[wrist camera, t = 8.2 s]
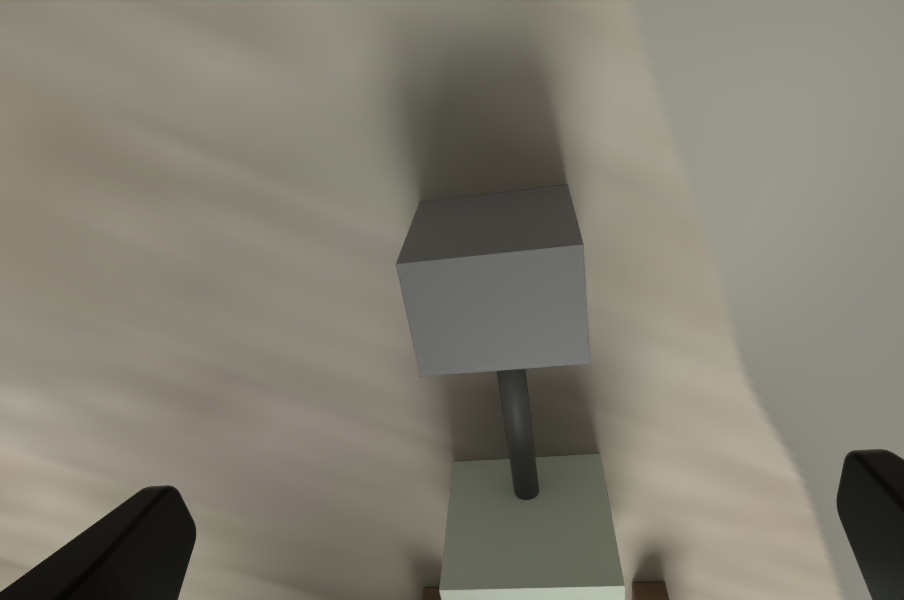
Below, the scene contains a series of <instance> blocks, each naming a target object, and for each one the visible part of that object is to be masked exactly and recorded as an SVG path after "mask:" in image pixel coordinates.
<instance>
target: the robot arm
mask: <svg viewBox="0 0 904 600" xmlns="http://www.w3.org/2000/svg"><path fill="white" fill-rule="evenodd" d="M837 510H838V514H839V517H840V520H841V523H842V525H843V527H844V530H845V533H846V535H847V537H848V540H849V543H850V545H851V547H852V550H853V552H854V555H855V558H856V560H857V563H858V565H859V568H860V570H861V572H862V575H863V578H864V580H865V582H866V585H867V588H868V590H869V592H870V595H871V597H872V600H904V459H902V458H901V457H899V456H897V455H895V454H894V453H892V452H890V451H888V450H883V449H873V450H854V451H851V452H849V453H848V454H847V455H846V457H845V460H844V464H843V469H842V475H841V478H840V484H839V488H838V493H837ZM195 540H196V526H195V523H194V520H193V518H192V516H191V514H190V512H189V510H188V508H187V506H186V504H185V502H184V500H183V498H182V496H181V494H180V493H179V491H178V490H177V489H176V488H175V487H173V486H151V487H146V488H144V489H142V490H140V491H139V492H137V493H136V494H135V495H133V496H132V497H131V498H129V499H128V500H126V501H125V502H124V503H122V504H121V505H120V506H118V507H117V508H115V509H114V510H113V511H111V512H110V513H109V514H107V515H106V516H104V517H103V518H102V519H100V520H99V521H97V522H96V523H95V524H93V525H92V526H91V527H89V528H88V529H86V530H85V531H84V532H82V533H81V534H80V535H78V536H77V537H75V538H74V539H73V540H71V541H70V542H69V543H67V544H66V545H64V546H63V547H62V548H60V549H59V550H58V551H56V552H55V553H53V554H52V555H51V556H49V557H48V558H47V559H45V560H44V561H42V562H41V563H40V564H38V565H37V566H36V567H34V568H33V569H31V570H30V571H29V572H27V573H26V574H25V575H23V576H22V577H20V578H19V579H18V580H16V581H15V582H13V583H12V584H11V585H9V586H8V587H7V588H5V589H4V590H2V591H1V592H0V600H178V597H179V593H180V590H181V587H182V584H183V580H184V577H185V574H186V570H187V567H188V564H189V561H190V557H191V554H192V551H193V547H194V544H195Z"/></svg>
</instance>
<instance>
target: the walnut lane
mask: <svg viewBox="0 0 904 600" xmlns="http://www.w3.org/2000/svg"><path fill="white" fill-rule="evenodd" d="M632 590H633V600H669V597H668V593H667V589H666V585H665V582H651V583H632ZM422 600H441V596H440V592H439V588H424V589H423V597H422Z"/></svg>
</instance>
